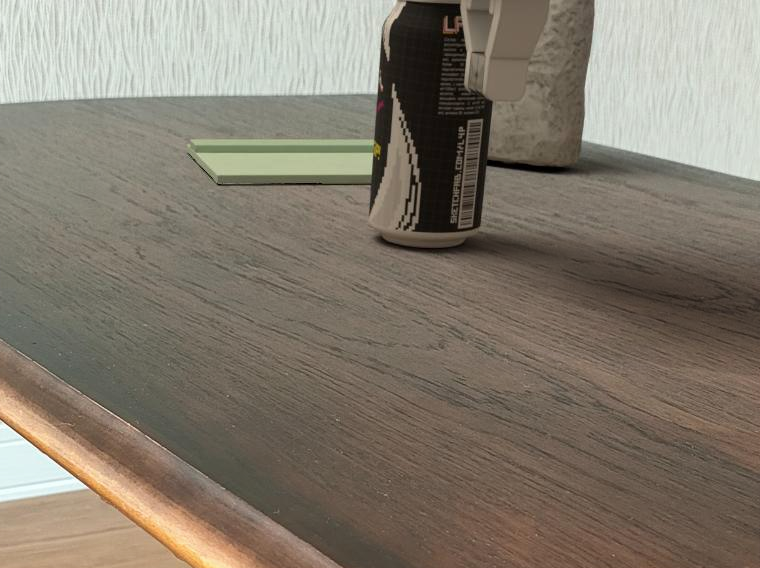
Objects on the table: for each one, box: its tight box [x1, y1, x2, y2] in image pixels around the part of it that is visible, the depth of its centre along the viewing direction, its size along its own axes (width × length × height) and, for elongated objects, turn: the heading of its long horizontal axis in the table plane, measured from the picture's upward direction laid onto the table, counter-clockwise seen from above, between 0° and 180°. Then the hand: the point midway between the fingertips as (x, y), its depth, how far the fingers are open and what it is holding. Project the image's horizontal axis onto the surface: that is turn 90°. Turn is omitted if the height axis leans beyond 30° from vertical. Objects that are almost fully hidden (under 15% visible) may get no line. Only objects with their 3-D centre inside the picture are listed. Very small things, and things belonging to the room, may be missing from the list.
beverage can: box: [368, 0, 493, 249], centre depth 72 cm, size 6×6×12 cm
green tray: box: [186, 138, 374, 185], centre depth 94 cm, size 16×12×1 cm
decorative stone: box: [487, 0, 596, 168], centre depth 96 cm, size 11×6×15 cm, turn 46°
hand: (493, 97), depth 63 cm, fingers closed
